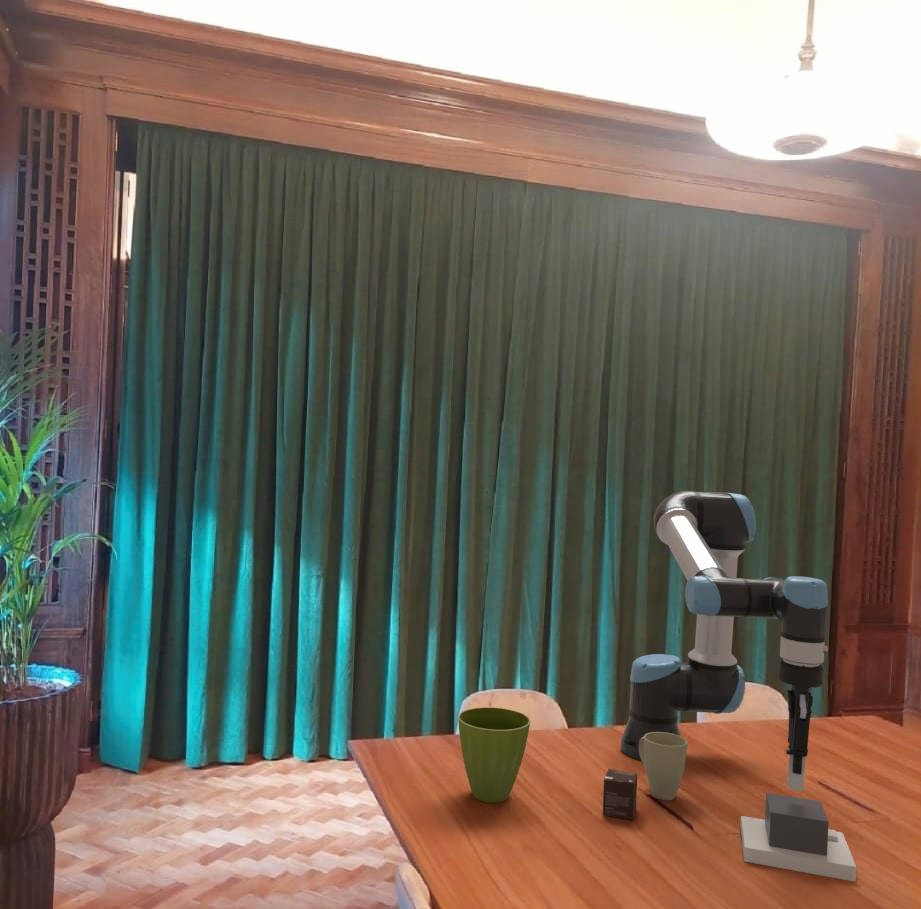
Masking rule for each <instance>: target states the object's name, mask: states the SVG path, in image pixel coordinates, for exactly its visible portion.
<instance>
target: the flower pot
mask: <svg viewBox="0 0 921 909" xmlns="http://www.w3.org/2000/svg"><path fill="white" fill-rule="evenodd" d="M458 714H459V715H458V717H457V720H458V730H459V740H460V748H461V754H462V758H463V759H462V760H463V764H464V768H465V772H466V776H467V779H468V783H469V787H470V790H471V793H472V795H473V797H474V798H475V799H476V800H478V801H480V802H482V803H483V802H484V803H491V804H494V803H495V804H496V803H503V802H505V801H506V800H508V799H509V796H510V795H511V792H512V790H513V788H514V785H515V782H516V779H517V777H518V774H519V770H520V767H521V765H522V762H523V758H524V754H525V750H526V747H527V741H528V736H529V730H530V725H531V719H530V717H529V716H527V715H526V714H524V713H522V712H519V711H516V710H513V709H508V708H502V707H475V708H469V709H465V710H464V711H462V712H460V713H458Z"/></svg>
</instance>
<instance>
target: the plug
mask: <svg viewBox="0 0 921 909" xmlns="http://www.w3.org/2000/svg"><path fill="white" fill-rule="evenodd" d="M764 811H765V812H764V813H765V816H764V817H765V818H764V820H765V827H766V832H767V838H768V843H769V846H771V847H777V848H783V849H788V850H794V851H800V852H806V853H812V854H817V855H823V856H827V846H828V829H829V820H828V817H827V814H826V811H825V809H824V807H823V804H822V801H821V800H817V799H811V798H803V797H798V796H790V795H785V794H779V793H771V792H766V794H765V810H764Z"/></svg>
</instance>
